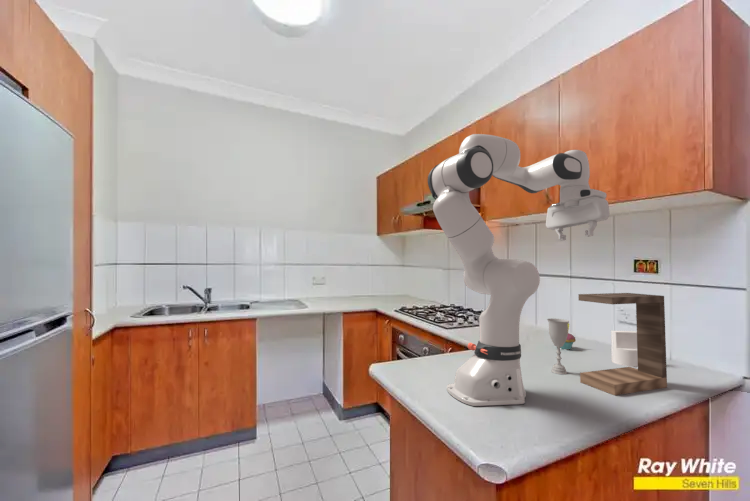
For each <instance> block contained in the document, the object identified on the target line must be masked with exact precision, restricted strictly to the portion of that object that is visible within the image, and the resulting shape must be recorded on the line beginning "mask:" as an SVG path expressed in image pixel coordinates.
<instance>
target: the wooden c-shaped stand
mask: <svg viewBox="0 0 750 501" xmlns="http://www.w3.org/2000/svg"><path fill="white" fill-rule="evenodd" d="M578 301H581V302H589V303H598V304H606V305H607V304H608V305H626V304H627V305H630V304H631V305H633V304H635V314H636V315H635V320H636V332H637V355H638V367H631V366H626V367H625V366H624V367H618V368H617V367H616V368H609V369H601V370H600V369H599V370H593V371H584V372H580V373H579V381H580V383H581V384H584V385H587V386H589V387H591V388H594V389H597V390H599V391H602V392H604V393H608V394H610V395H611V396H612V395H613V396H620V395H626V394H634V393H638V392H640V393H641V392H645V391H652V390H658V389H659V390H660V389H665V388H668V376H667V375H668V374H667V371H668V370H667V345H666V344H667V343H666V341H667V340H666V317H665V316H666V314H665V313H666V312H665V295H661V294H660V295H656V294H645V293H633V292H617V293H615V292H614V293H612V292H610V293H580V294H578Z"/></svg>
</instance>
